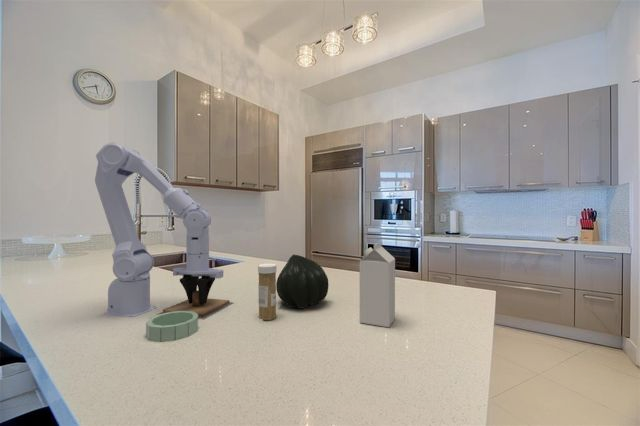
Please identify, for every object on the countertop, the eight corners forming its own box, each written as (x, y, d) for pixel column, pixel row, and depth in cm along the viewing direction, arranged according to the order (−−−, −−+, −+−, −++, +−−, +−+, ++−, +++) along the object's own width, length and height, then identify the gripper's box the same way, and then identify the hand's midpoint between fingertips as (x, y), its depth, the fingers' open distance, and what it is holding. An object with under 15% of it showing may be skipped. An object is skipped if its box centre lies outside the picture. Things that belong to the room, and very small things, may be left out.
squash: (343, 288, 82) (322, 245, 90) (296, 299, 74) (277, 250, 82) (323, 312, 91) (304, 270, 99) (279, 324, 83) (263, 277, 91)
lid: (162, 313, 77) (162, 296, 77) (193, 300, 88) (193, 285, 88) (203, 317, 74) (203, 299, 74) (229, 303, 85) (229, 287, 85)
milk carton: (395, 318, 75) (395, 242, 75) (389, 328, 68) (389, 245, 68) (367, 314, 78) (367, 241, 78) (359, 323, 71) (359, 244, 71)
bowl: (135, 339, 62) (135, 324, 62) (170, 322, 72) (170, 309, 72) (175, 345, 59) (175, 329, 59) (207, 326, 69) (207, 313, 69)
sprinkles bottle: (279, 318, 74) (279, 264, 74) (262, 322, 72) (262, 266, 72) (271, 313, 78) (271, 262, 78) (255, 316, 76) (255, 263, 76)
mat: (156, 316, 76) (156, 314, 76) (192, 300, 90) (192, 299, 90) (203, 321, 73) (203, 319, 73) (234, 304, 86) (234, 302, 86)
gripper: (229, 252, 83) (229, 300, 83) (185, 250, 87) (185, 297, 87) (214, 255, 76) (214, 308, 76) (167, 253, 80) (167, 304, 80)
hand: (197, 303), depth 81 cm, fingers closed on lid, 3 cm apart
